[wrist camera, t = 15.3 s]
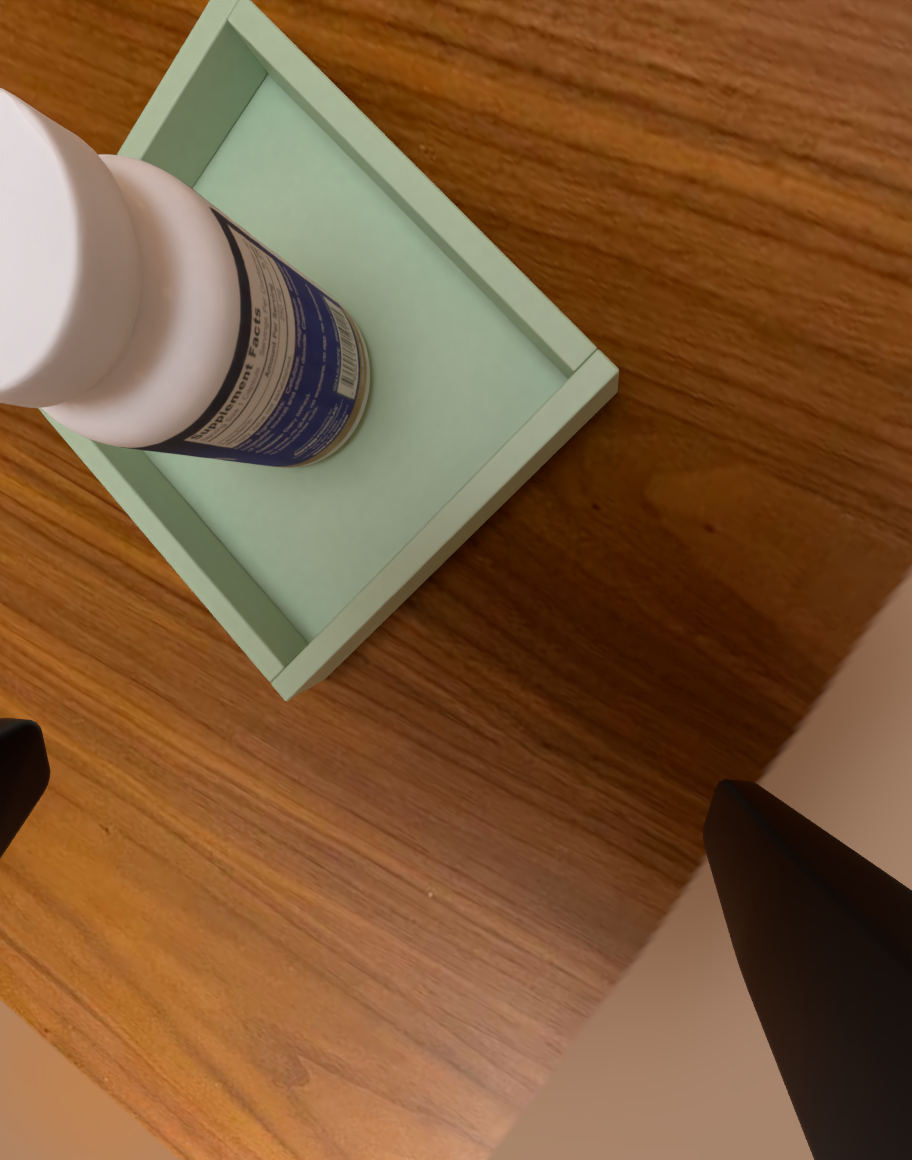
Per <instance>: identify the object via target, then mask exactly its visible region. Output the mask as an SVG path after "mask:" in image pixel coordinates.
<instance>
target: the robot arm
mask: <svg viewBox="0 0 912 1160" xmlns="http://www.w3.org/2000/svg"><path fill="white" fill-rule="evenodd" d="M49 778H50V767H49V762H48V757H47V753H46V748H45V743H44V739H43V734H42V730H41V727H40V726H39V725H38V724H37V723H36V722H34V721H32V720H25V719H13V718H0V858H1V857H2V855H3V854H4V852H5V851H6V849H7V848H8V846H9V845H10V843H11V842H12V840H13V839H14V837H15V836H16V834H17V833H18V831H19V830H20V828H21V826H22V825H23V823H24V822H25V820H26V819H27V817H28V816H29V814H30V813H31V811H32V810H33V808H34V807H35V805H36V804H37V802H38V801H39V799H40V798H41V796H42V795H43V793H44V791H45V790H46V787H47V785H48V782H49ZM703 841H704V846H705V850H706V854H707V857H708V861H709V864H710V867H711V871H712V874H713V878H714V882H715V885H716V889H717V892H718V896H719V899H720V902H721V905H722V910H723V913H724V917H725V920H726V923H727V927H728V930H729V933H730V937H731V941H732V944H733V948H734V951H735V954H736V957H737V960H738V964H739V966H740V970H741V972H742V975H743V978H744V981H745V983H746V986H747V989H748V992H749V994H750V996H751V999H752V1001H753V1004H754V1007H755V1009H756V1012H757V1015H758V1017H759V1019H760V1022H761V1025H762V1027H763V1030H764V1032H765V1035H766V1038H767V1040H768V1043H769V1045H770V1048H771V1050H772V1053H773V1055H774V1058H775V1061H776V1063H777V1065H778V1068H779V1071H780V1073H781V1076H782V1078H783V1081H784V1084H785V1086H786V1089H787V1091H788V1094H789V1096H790V1099H791V1101H792V1104H793V1106H794V1109H795V1112H796V1114H797V1117H798V1119H799V1122H800V1124H801V1127H802V1129H803V1132H804V1135H805V1137H806V1140H807V1142H808V1145H809V1147H810V1150H811V1152H812V1155H813V1158H814V1160H912V890H910V889H909V888H907V887H906V886H905V885H903V884H902V883H900V882H899V881H897V880H896V879H894V878H893V877H891V876H890V875H888V874H887V873H886V872H884V871H883V870H881V869H880V868H878V867H877V866H875V865H874V864H873V863H871V862H869V861H868V860H867V859H865V858H864V857H862V856H861V855H859V854H858V853H857V852H855V851H854V850H852V849H851V848H849V847H848V846H846V845H845V844H843V843H842V842H840V841H839V840H837V839H836V838H835V837H833V836H832V835H830V834H829V833H827V832H826V831H825V830H823V829H821V828H820V827H819V826H817V825H816V824H814V823H813V822H811V821H810V820H809V819H807V818H805V817H804V816H803V815H801V814H800V813H798V812H797V811H795V810H794V809H793V808H791V807H790V806H788V805H787V804H785V803H784V802H782V801H781V800H779V799H778V798H777V797H775V796H774V795H772V794H771V793H769V792H768V791H766V790H765V789H764V788H762V787H761V786H759V785H758V784H756V783H754V782H751V781H742V780H730V779H724V780H722V781H720V782H719V783H718V784H717V786H716V788H715V791H714V795H713V798H712V801H711V804H710V807H709V811H708V814H707V817H706V820H705V824H704V828H703Z"/></svg>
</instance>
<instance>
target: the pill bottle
mask: <svg viewBox="0 0 912 1160" xmlns="http://www.w3.org/2000/svg"><path fill="white" fill-rule="evenodd" d="M369 387H370V364H369V357H368V353H367V348H366V345H365V342H364V339H363V337H362V334H361V332H360V330H359V328H358V326H357V324H356V323H355V321H354V320H353V318H352V317H351V315H350V314H349V313H348V312H347V310H346V309H345V308H344V307H343V306H342V305H341V304H340V303H339V302H338V301H337V300H336V299H335V298H333V297H332V296H331V295H330V294H328V293H327V292H326V291H325V290H324V289H322V288H321V287H320V286H318V285H317V284H316V283H315V282H313V281H312V280H310V279H309V278H308V277H307V276H305V275H304V274H303V273H302V272H300V271H299V270H297V269H296V268H295V267H293V266H292V265H291V264H289V263H288V262H286V261H285V260H284V259H283V258H281V257H280V256H279V255H278V254H276V253H275V252H274V251H272V250H271V249H269V248H268V247H267V246H265V245H264V244H263V243H261V242H260V241H259V240H257V239H256V238H255V237H254V236H252V235H251V234H250V233H249V232H247V231H246V230H245V229H244V228H242V227H241V226H239V225H238V224H237V223H235V222H234V221H233V220H232V219H230V218H229V217H228V216H227V215H225V214H224V213H223V212H222V211H221V210H219V209H218V208H216V207H215V206H214V205H212V204H211V203H210V202H208V201H207V200H206V199H205V198H203V197H202V196H201V195H200V194H198V193H197V192H196V191H195V190H194V189H192V188H191V187H189V186H188V185H186V184H185V183H183V182H182V181H180V180H179V179H177V178H176V177H174V176H173V175H171V174H169V173H168V172H166V171H164V170H162V169H160V168H158V167H156V166H154V165H152V164H149V163H147V162H144V161H142V160H138V159H135V158H130V157H125V156H119V155H107V154H106V155H97V153H96V152H95V151H94V150H93V149H92V148H91V147H90V146H89V145H88V144H86V143H85V142H84V141H83V140H82V139H81V138H79V137H78V136H77V135H75V134H74V133H72V132H70V131H69V130H67V129H65V128H64V127H62V126H60V125H59V124H57V123H55V122H54V121H52V120H51V119H49V118H48V117H46V116H45V115H43V114H42V113H40V112H39V111H37V110H36V109H34V108H33V107H31V106H30V105H28V104H27V103H25V102H24V101H22V100H21V99H19V98H18V97H16V96H15V95H13V94H11V93H9V92H8V91H6V90H4V89H2V88H0V403H4V404H11V405H17V406H22V407H30V408H42V409H43V410H44V411H45V412H47V413H48V414H49V415H50V416H51V417H52V418H53V419H55V420H56V421H58V422H59V423H61V424H62V425H63V426H65V427H66V428H68V429H70V430H71V431H73V432H75V433H77V434H79V435H81V436H83V437H86V438H88V439H91V440H94V441H97V442H100V443H104V444H108V445H112V446H117V447H121V448H129V449H137V450H144V451H153V452H161V453H169V454H178V455H185V456H193V457H200V458H209V459H217V460H225V461H233V462H241V463H248V464H256V465H264V466H272V467H282V468H297V467H303V466H307V465H311V464H314V463H316V462H319V461H321V460H323V459H325V458H326V457H328V456H330V455H331V454H332V453H334V452H335V451H336V450H338V449H339V448H340V447H341V446H342V445H343V444H344V443H345V442H346V441H347V440H348V439H349V437H350V436H351V435H352V433H353V432H354V430H355V429H356V427H357V425H358V423H359V421H360V419H361V417H362V415H363V412H364V410H365V406H366V403H367V399H368V395H369Z"/></svg>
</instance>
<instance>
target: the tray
mask: <svg viewBox="0 0 912 1160" xmlns="http://www.w3.org/2000/svg"><path fill="white" fill-rule="evenodd" d="M117 155H119V156H125V157H130V158H135V159H138V160H142V161H144V162H147V163H149V164H152V165H154V166H156V167H158V168H160V169H162V170H164V171H166V172H168V173H169V174H171V175H173V176H174V177H176V178H177V179H179V180H180V181H182V182H183V183H185V184H186V185H188V186H189V187H191V188H192V189H194V190H195V191H196V192H197V193H198V194H200V195H201V196H202V197H203V198H205V199H206V200H207V201H208V202H210V203H211V204H212V205H214V206H215V207H216V208H218V209H219V210H221V211H222V212H223V213H224V214H225V215H227V216H228V217H229V218H230V219H232V220H233V221H234V222H235V223H237V224H238V225H239V226H241V227H242V228H244V229H245V230H246V231H247V232H249V233H250V234H251V235H252V236H254V237H255V238H256V239H257V240H259V241H260V242H261V243H263V244H264V245H265V246H267V247H268V248H269V249H271V250H272V251H274V252H275V253H276V254H278V255H279V256H280V257H281V258H283V259H284V260H285V261H286V262H288V263H289V264H291V265H292V266H293V267H295V268H296V269H297V270H299V271H300V272H302V273H303V274H304V275H305V276H307V277H308V278H309V279H310V280H312V281H313V282H315V283H316V284H317V285H318V286H320V287H321V288H322V289H324V290H325V291H326V292H327V293H328V294H330V295H331V296H332V297H333V298H335V299H336V300H337V301H338V302H339V303H340V304H341V305H342V306H343V307H344V308H345V309H346V310H347V312H348V313H349V314H350V315H351V317H352V318H353V320H354V321H355V323H356V324H357V326H358V328H359V330H360V332H361V334H362V337H363V339H364V342H365V345H366V348H367V353H368V357H369V364H370V387H369V395H368V399H367V403H366V406H365V410H364V412H363V415H362V417H361V419H360V421H359V423H358V425H357V427H356V429H355V430H354V432H353V433H352V435H351V436H350V437H349V439H348V440H347V441H346V442H345V443H344V444H343V445H342V446H341V447H340V448H339V449H338V450H336V451H335V452H334V453H332V454H331V455H330V456H328V457H326V458H325V459H323V460H321V461H319V462H316V463H314V464H311V465H307V466H303V467H297V468H282V467H272V466H264V465H256V464H248V463H241V462H233V461H225V460H217V459H209V458H200V457H193V456H185V455H178V454H169V453H161V452H153V451H144V450H137V449H129V448H121V447H117V446H112V445H108V444H104V443H100V442H97V441H94V440H91V439H88V438H86V437H83V436H81V435H79V434H77V433H75V432H73V431H71V430H70V429H68V428H66V427H65V426H63V425H62V424H61V423H59V422H58V421H56V420H55V419H53V418H52V417H51V416H50V415H49V414H48V413H47V412H45V411H44V410H43V409H42V408H38V409H39V410H40V411H41V412H42V414H43V415H44V416H45V417H46V418H47V419H48V421H49V422H50V423H51V424H52V425H53V427H54V428H55V429H56V430H57V431H58V432H59V434H60V435H61V436H62V437H63V438H64V440H65V441H66V442H67V443H68V444H69V445H70V447H71V448H72V449H73V450H74V451H75V453H76V454H77V455H78V456H79V457H80V459H81V460H82V461H83V462H84V463H85V464H86V466H87V467H88V468H89V469H90V470H91V472H92V473H93V474H94V475H95V476H96V477H97V479H98V480H99V481H100V482H101V483H102V485H103V486H104V487H105V488H106V489H107V490H108V492H109V493H110V494H111V495H112V496H113V498H114V499H115V500H116V501H117V502H118V503H119V505H120V506H121V507H122V508H123V509H124V511H125V512H126V513H127V514H128V515H129V516H130V518H131V519H132V520H133V521H134V522H135V524H136V525H137V526H138V527H139V528H140V529H141V531H142V532H143V533H144V534H145V535H146V537H147V538H148V539H149V540H150V541H151V542H152V544H153V545H154V546H155V547H156V548H157V550H158V551H159V552H160V553H161V554H162V556H163V557H164V558H165V559H166V560H167V561H168V563H169V564H170V565H171V566H172V567H173V569H174V570H175V571H176V572H177V573H178V574H179V576H180V577H181V578H182V579H183V580H184V582H185V583H186V584H187V585H188V586H189V587H190V589H191V590H192V591H193V592H194V593H195V595H196V596H197V597H198V598H199V599H200V600H201V602H202V603H203V604H204V605H205V606H206V608H207V609H208V610H209V611H210V612H211V613H212V615H213V616H214V617H215V618H216V619H217V621H218V622H219V623H220V624H221V625H222V626H223V628H224V629H225V630H226V631H227V632H228V634H229V635H230V636H231V637H232V638H233V639H234V641H235V642H236V643H237V644H238V645H239V647H240V648H241V649H242V650H243V651H244V653H245V654H246V655H247V656H248V657H249V658H250V660H251V661H252V662H253V663H254V664H255V666H256V667H257V668H258V669H259V670H260V671H261V673H262V674H263V675H264V676H265V677H266V679H267V680H268V681H269V682H271V685H272V686H273V687H274V688H275V689H276V691H277V692H278V693H279V694H280V695H281V697H282V698H283V699H284V700H285V701H289V700H290V699H292V698H294V697H295V696H297V695H299V694H300V693H302V692H304V691H306V690H307V689H309V688H311V687H312V686H314V685H316V684H318V683H320V682H321V681H323V680H325V679H326V678H327V677H328V676H329V675H330V674H331V673H332V672H333V671H334V670H335V669H336V668H337V667H338V666H339V665H340V664H341V663H342V662H343V661H344V660H345V659H346V658H347V657H348V656H349V655H350V654H351V653H352V652H353V651H354V650H355V649H356V648H357V647H358V646H359V645H360V644H361V643H362V642H363V641H364V640H365V639H366V638H367V637H369V636H370V635H371V634H372V633H373V632H374V631H375V630H376V629H377V628H378V627H379V626H380V625H381V624H382V623H383V622H384V621H385V620H386V619H387V618H388V617H389V616H390V615H391V614H392V613H393V612H394V611H395V610H396V609H397V608H398V607H399V606H400V605H401V604H402V603H403V602H404V601H405V600H406V599H407V598H408V597H409V596H410V595H411V594H412V593H413V592H414V591H415V590H416V589H417V588H418V587H419V586H420V585H422V584H423V583H424V582H425V581H426V580H427V579H428V578H429V577H430V576H431V575H432V574H433V573H434V572H435V571H436V570H437V569H438V568H439V567H440V566H441V565H442V564H443V563H444V562H445V561H446V560H447V559H448V558H449V557H450V556H451V555H452V554H453V553H454V552H455V551H456V550H457V549H458V548H459V547H460V546H461V545H462V544H463V543H464V542H465V541H466V540H467V539H468V538H469V537H470V536H471V535H472V534H473V533H474V532H476V531H477V530H478V529H479V528H480V527H481V526H482V525H483V524H484V523H485V522H486V521H487V520H488V519H489V518H490V517H491V516H492V515H493V514H494V513H495V512H496V511H497V510H498V509H499V508H500V507H501V506H502V505H503V504H504V503H505V502H506V501H507V500H508V499H509V498H510V497H511V496H512V495H513V494H514V493H515V492H516V491H517V490H518V489H519V488H520V487H521V486H522V485H523V484H524V483H525V482H526V481H527V480H528V479H530V478H531V477H532V476H533V475H534V474H535V473H536V472H537V471H538V470H539V469H540V468H541V467H542V466H543V465H544V464H545V463H546V462H547V461H548V460H549V459H550V458H551V457H552V456H553V455H554V454H555V453H556V452H557V451H558V450H559V449H560V448H561V447H562V446H563V445H564V444H565V443H566V442H567V441H568V440H569V439H570V438H571V437H572V436H573V435H574V434H575V433H576V432H577V431H578V430H579V429H580V428H581V427H582V426H584V425H585V424H586V423H587V422H588V421H589V420H590V419H591V418H592V417H593V416H594V415H595V414H596V413H597V412H598V411H599V410H600V409H601V408H602V407H603V406H604V405H605V404H606V403H607V402H608V401H609V400H610V399H611V398H612V397H613V396H614V395H615V394H616V393H617V392H618V379H619V369H618V368H617V367H616V366H615V365H614V364H613V363H612V362H611V361H610V360H609V359H608V358H607V357H606V356H605V355H604V354H603V353H602V352H601V351H600V350H597V347H596V346H595V345H594V344H593V343H592V342H591V341H590V340H589V339H588V338H587V337H586V336H585V335H584V334H583V333H582V332H581V331H580V330H579V329H578V328H577V327H576V326H575V325H574V324H573V323H572V322H571V321H570V320H569V319H568V318H567V317H566V316H565V315H564V314H563V313H562V312H561V311H560V310H559V309H558V308H557V307H556V306H555V305H554V304H553V303H552V302H551V301H550V300H549V299H548V298H547V297H546V296H545V295H544V294H543V293H542V292H541V291H540V290H539V289H538V288H537V287H536V286H535V285H534V284H533V283H532V282H531V281H530V280H529V279H528V278H527V277H526V276H525V275H524V274H523V273H522V272H521V271H520V270H519V269H518V268H517V267H516V266H515V265H514V264H513V263H512V262H511V261H510V260H509V259H508V258H507V257H506V256H505V255H504V254H503V253H502V252H501V251H500V250H499V249H498V248H497V247H496V246H495V245H494V244H493V243H492V242H491V241H490V240H489V239H488V238H487V237H486V236H485V235H484V234H483V233H482V231H481V230H480V229H479V228H478V227H477V226H476V225H475V224H474V223H473V222H472V221H471V220H470V219H469V218H468V217H467V216H466V215H465V214H464V213H463V212H462V211H461V210H460V209H459V208H458V207H457V206H456V205H455V204H454V203H453V202H452V201H451V200H450V199H449V198H448V197H447V196H446V195H445V194H444V193H443V192H442V191H441V190H440V189H439V188H438V187H437V186H436V185H435V184H434V183H433V182H432V181H431V180H430V179H429V178H428V177H427V176H426V175H425V174H424V173H423V172H422V171H421V170H420V169H419V168H418V167H417V166H416V165H415V164H414V163H413V162H412V161H411V160H410V159H409V158H408V157H407V156H406V155H405V154H404V153H403V152H402V151H401V150H400V149H399V148H398V147H397V146H396V145H395V144H394V143H393V142H392V141H391V140H390V139H389V138H388V137H387V136H386V135H385V134H384V133H383V132H382V131H381V130H380V129H379V128H378V127H377V126H376V125H375V124H374V123H373V122H372V121H371V120H370V119H369V118H368V117H367V116H366V115H365V114H364V113H363V112H362V111H361V110H360V109H359V108H358V107H357V106H356V105H355V104H354V103H353V102H352V101H351V100H350V99H349V98H348V97H347V96H346V95H345V94H344V93H343V92H342V91H341V90H340V89H339V88H338V87H337V86H336V85H335V84H334V83H333V82H332V81H331V80H330V79H329V78H328V77H327V76H326V75H325V74H324V73H323V72H322V71H321V70H320V69H319V68H318V67H317V66H316V65H315V64H314V63H313V62H312V61H311V60H310V59H309V58H308V57H307V56H306V55H305V54H304V53H303V52H302V51H301V50H300V49H299V48H298V47H297V46H296V45H295V44H294V43H293V42H292V41H291V40H290V39H289V38H288V37H287V36H286V35H285V34H284V33H283V32H282V31H281V30H280V29H279V28H278V27H277V26H276V25H275V24H274V23H273V22H272V21H271V20H270V19H269V18H268V17H267V16H266V15H265V14H264V13H263V12H262V11H261V10H260V9H259V8H258V7H257V6H256V5H255V4H254V3H253V2H252V1H251V0H210V1H209V3H208V5H207V6H206V8H205V10H204V11H203V13H202V15H201V16H200V18H199V19H198V21H197V23H196V24H195V26H194V28H193V29H192V31H191V33H190V34H189V36H188V38H187V39H186V41H185V43H184V44H183V46H182V48H181V49H180V51H179V53H178V54H177V56H176V58H175V59H174V61H173V63H172V64H171V66H170V68H169V69H168V71H167V72H166V74H165V76H164V77H163V79H162V81H161V82H160V84H159V86H158V87H157V89H156V91H155V92H154V94H153V96H152V97H151V99H150V101H149V102H148V104H147V106H146V107H145V109H144V111H143V112H142V114H141V116H140V117H139V119H138V121H137V122H136V124H135V125H134V127H133V129H132V130H131V132H130V134H129V135H128V137H127V139H126V140H125V142H124V144H123V145H122V147H121V149H120V150H119V152H118V154H117Z"/></svg>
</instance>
